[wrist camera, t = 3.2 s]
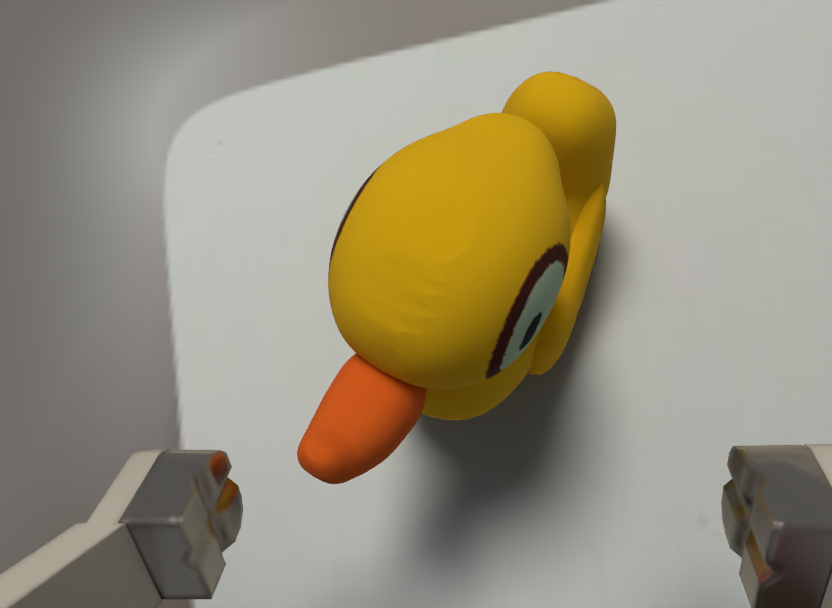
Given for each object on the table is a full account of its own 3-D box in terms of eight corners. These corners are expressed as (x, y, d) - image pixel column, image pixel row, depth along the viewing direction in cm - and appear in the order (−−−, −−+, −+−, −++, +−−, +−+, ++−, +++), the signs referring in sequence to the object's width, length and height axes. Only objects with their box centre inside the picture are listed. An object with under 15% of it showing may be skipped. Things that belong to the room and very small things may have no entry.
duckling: (472, 522, 20) (424, 572, 10) (324, 430, 21) (158, 398, 12) (647, 200, 21) (747, -19, 12) (497, 133, 23) (478, -113, 13)
